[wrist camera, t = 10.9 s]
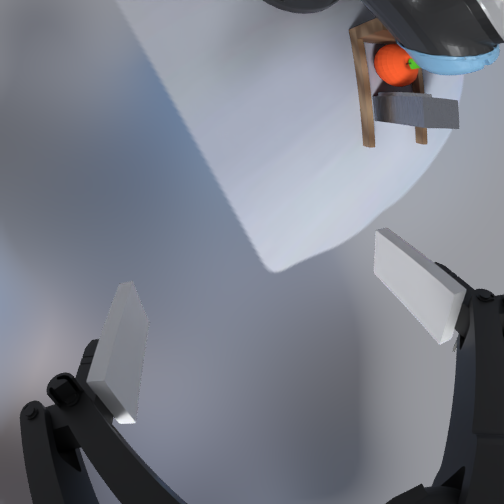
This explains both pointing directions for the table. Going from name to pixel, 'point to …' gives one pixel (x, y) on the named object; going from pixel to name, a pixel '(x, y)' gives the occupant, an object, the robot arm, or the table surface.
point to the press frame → (370, 34)
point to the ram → (416, 110)
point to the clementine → (395, 66)
